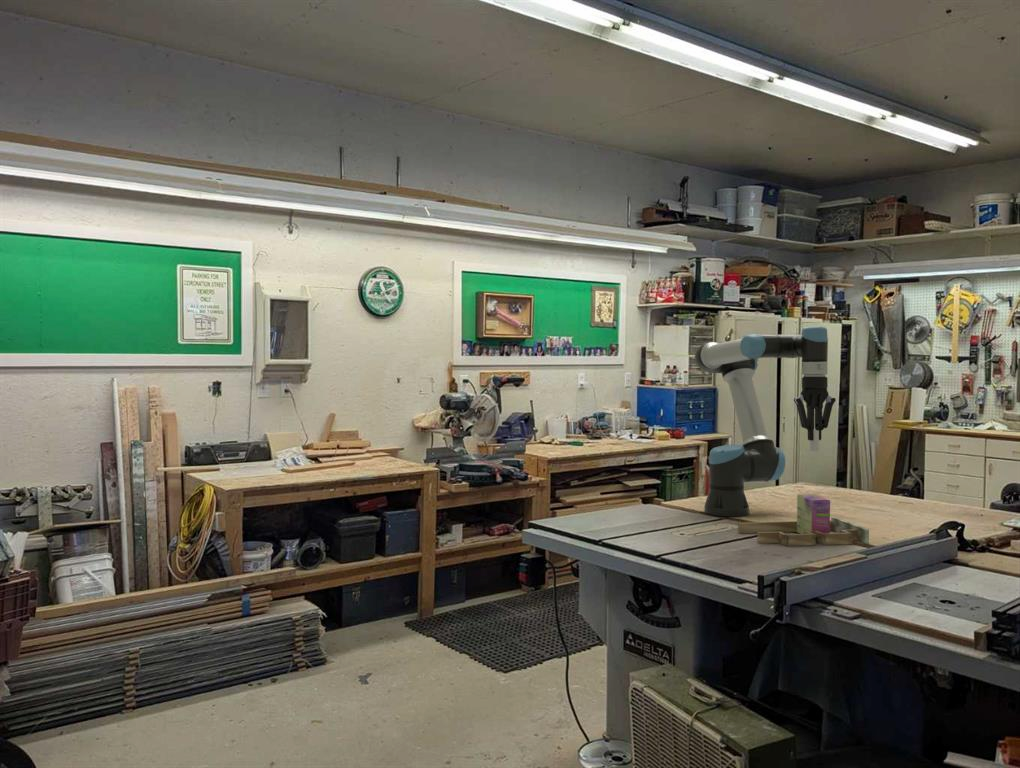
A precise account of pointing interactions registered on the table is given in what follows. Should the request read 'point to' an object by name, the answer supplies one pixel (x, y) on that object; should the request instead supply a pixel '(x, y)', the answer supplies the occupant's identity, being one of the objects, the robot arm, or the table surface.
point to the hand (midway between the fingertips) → (814, 450)
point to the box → (813, 513)
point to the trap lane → (805, 533)
